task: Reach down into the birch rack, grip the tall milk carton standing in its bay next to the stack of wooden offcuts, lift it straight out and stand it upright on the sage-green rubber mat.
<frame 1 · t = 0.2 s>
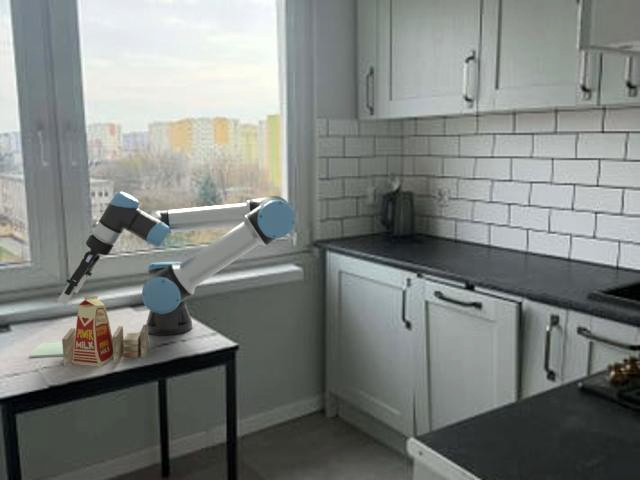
hand: (67, 296, 184), 16 cm above the table, tool tilted 35°, fingers open, 13 cm apart
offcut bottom: (132, 355, 180), on the table, touching offcut middle
offcut middle: (132, 349, 179), point 2 cm above the table, touching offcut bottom, offcut top
milk carton: (94, 360, 176), on the table
mat: (54, 350, 183), on the table
offcut top: (132, 342, 179), point 4 cm above the table, touching offcut middle
rack: (94, 359, 176), on the table
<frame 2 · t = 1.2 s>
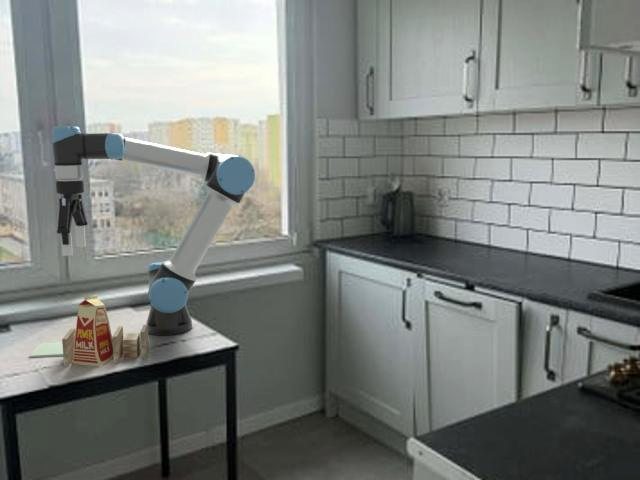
hand: (74, 251, 179), 31 cm above the table, tool pointing down, fingers open, 13 cm apart
nothing on the table moved.
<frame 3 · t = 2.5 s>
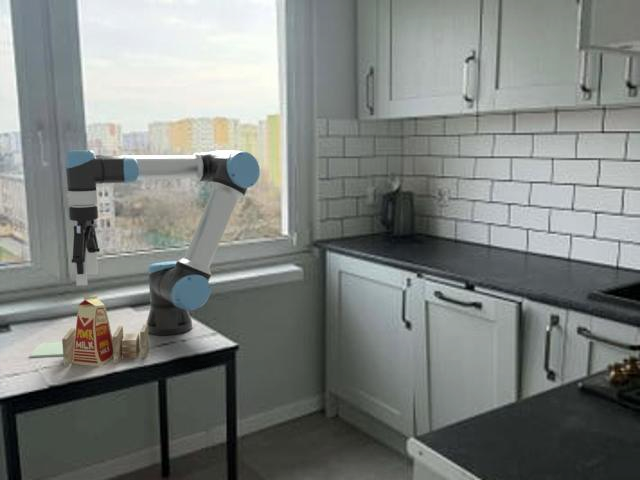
hand: (87, 279, 171), 24 cm above the table, tool pointing down, fingers open, 13 cm apart
nothing on the table moved.
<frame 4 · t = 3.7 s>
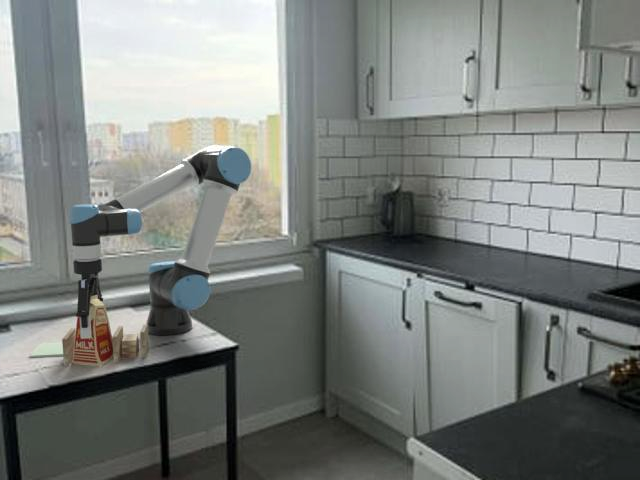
hand: (91, 330, 174), 9 cm above the table, tool pointing down, fingers open, 13 cm apart
nothing on the table moved.
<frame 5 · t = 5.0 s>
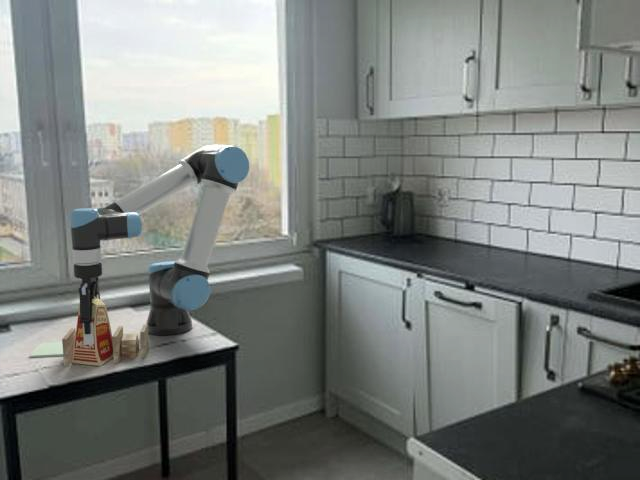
hand: (92, 338, 174), 6 cm above the table, tool pointing down, fingers closed on milk carton, 8 cm apart
milk carton: (94, 359, 176), on the table, touching gripper
everything else where it was.
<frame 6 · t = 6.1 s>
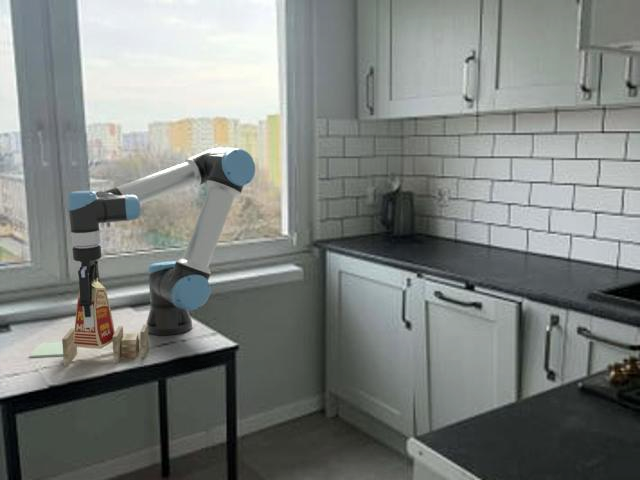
hand: (93, 322, 174), 11 cm above the table, tool pointing down, fingers closed on milk carton, 8 cm apart
offcut middle: (130, 349, 179), point 2 cm above the table, touching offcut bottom
milk carton: (95, 343, 175), point 5 cm above the table, touching gripper
offcut top: (130, 343, 179), point 4 cm above the table
everything else where it was.
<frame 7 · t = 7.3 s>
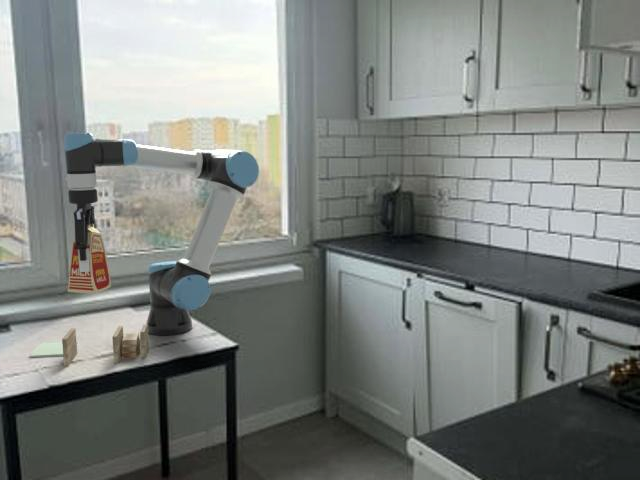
hand: (88, 267, 171), 27 cm above the table, tool pointing down, fingers closed on milk carton, 8 cm apart
offcut middle: (131, 349, 179), point 2 cm above the table, touching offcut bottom, offcut top
milk carton: (90, 289, 172), point 21 cm above the table, touching gripper
offcut top: (130, 343, 179), point 4 cm above the table, touching offcut middle
everything else where it was.
when the fingers open (8 cm above the table, at t = 12.1 s): milk carton drops 1 cm, resting on mat.
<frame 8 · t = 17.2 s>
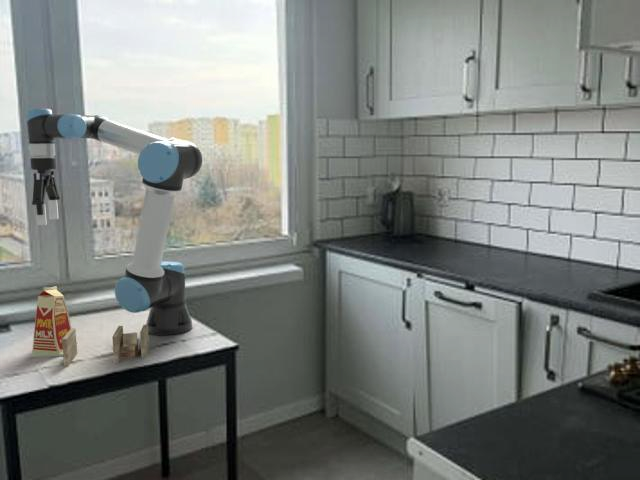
hand: (48, 222, 198), 37 cm above the table, tool pointing down, fingers open, 13 cm apart
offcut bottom: (130, 355, 180), on the table, touching offcut middle
milk carton: (54, 348, 183), resting on mat
at the end: milk carton 0.1 cm off-centre on the mat, point 0.4 cm above the mat's base; milk carton tilted 0°; offcut top moved 0.8 cm from its start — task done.
